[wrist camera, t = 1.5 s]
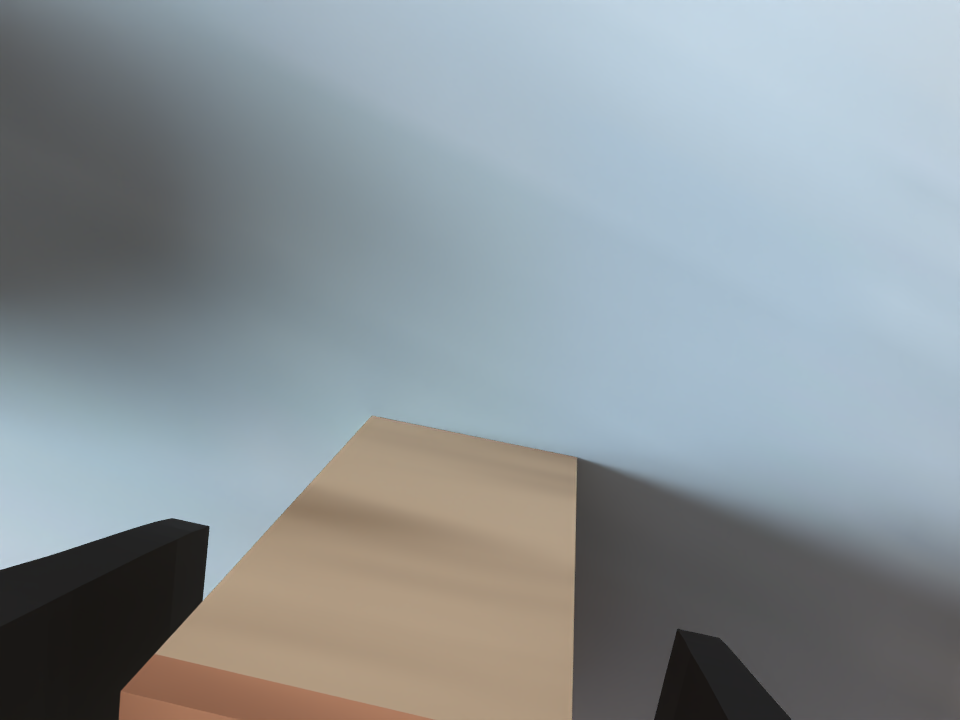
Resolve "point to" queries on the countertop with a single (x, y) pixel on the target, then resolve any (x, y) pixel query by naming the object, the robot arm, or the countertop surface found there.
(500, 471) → the beech block
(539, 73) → the countertop surface
